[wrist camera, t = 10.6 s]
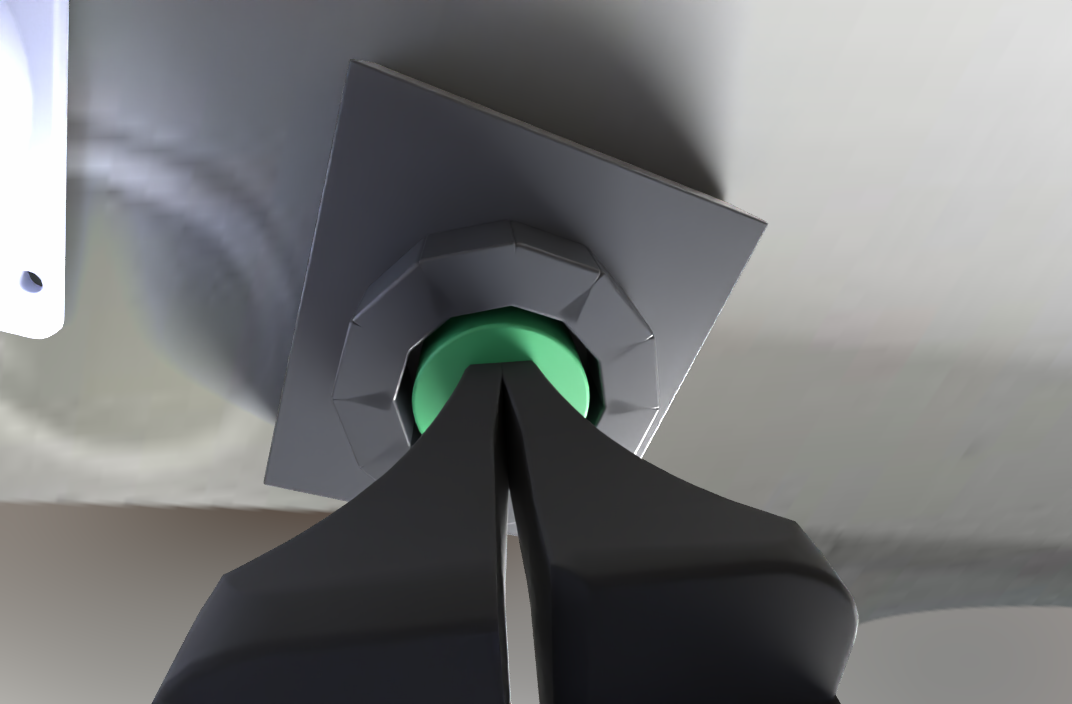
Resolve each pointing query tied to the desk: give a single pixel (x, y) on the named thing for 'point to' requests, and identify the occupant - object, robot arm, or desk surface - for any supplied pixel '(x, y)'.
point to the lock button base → (486, 273)
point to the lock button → (496, 356)
